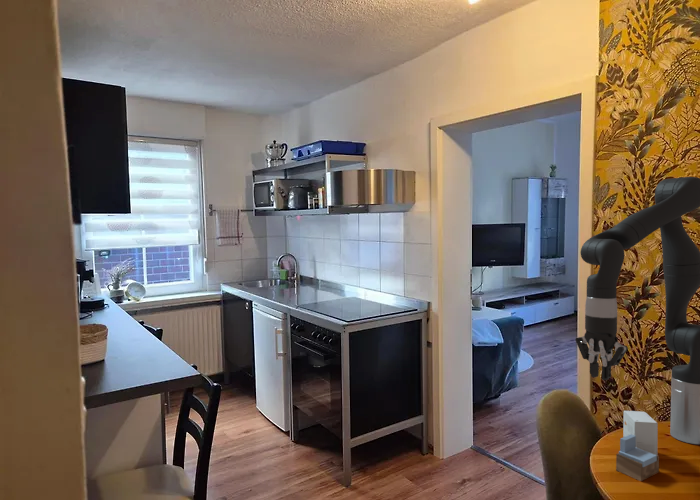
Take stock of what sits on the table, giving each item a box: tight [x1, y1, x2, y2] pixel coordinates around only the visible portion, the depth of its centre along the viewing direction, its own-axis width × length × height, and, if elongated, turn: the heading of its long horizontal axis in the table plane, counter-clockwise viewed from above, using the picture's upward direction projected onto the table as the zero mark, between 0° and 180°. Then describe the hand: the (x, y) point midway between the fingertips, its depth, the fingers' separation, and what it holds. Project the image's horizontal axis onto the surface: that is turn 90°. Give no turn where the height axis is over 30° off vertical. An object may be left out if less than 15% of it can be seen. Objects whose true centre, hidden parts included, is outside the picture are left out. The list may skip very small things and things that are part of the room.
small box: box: [622, 410, 659, 455], centre depth 125 cm, size 8×6×10 cm
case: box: [615, 448, 660, 482], centre depth 117 cm, size 8×6×4 cm
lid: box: [618, 434, 658, 467], centre depth 117 cm, size 6×6×5 cm
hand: (600, 377), depth 125 cm, fingers open, 2 cm apart
